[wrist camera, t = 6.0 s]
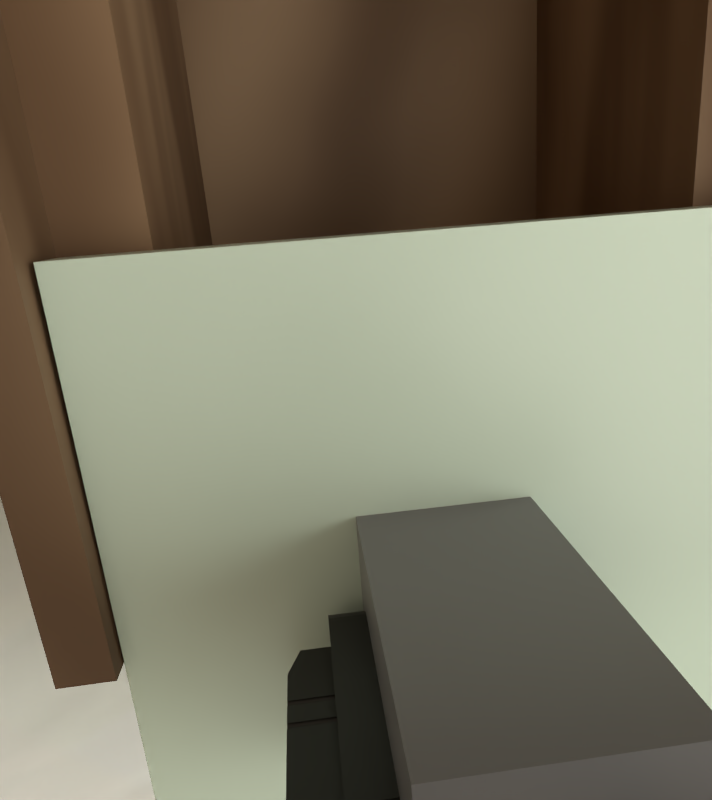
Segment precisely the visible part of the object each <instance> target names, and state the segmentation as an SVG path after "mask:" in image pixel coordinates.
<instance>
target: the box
mask: <svg viewBox="0 0 712 800" xmlns="http://www.w3.org/2000/svg"><path fill="white" fill-rule="evenodd" d="M708 205H712V0H0V496H1V500H2V503H3V507H4V510H5V514H6V517H7V521H8V524H9V528H10V531H11V535H12V538H13V542H14V545H15V549H16V552H17V556H18V559H19V563H20V566H21V570H22V573H23V577H24V580H25V584H26V587H27V591H28V594H29V598H30V601H31V605H32V608H33V612H34V615H35V619H36V622H37V626H38V629H39V633H40V636H41V640H42V643H43V647H44V650H45V654H46V657H47V661H48V664H49V668H50V671H51V675H52V678H53V682H54V685H55V689H59V688H66V687H74V686H81V685H88V684H96V683H103V682H110V681H117V679H118V676H119V674H120V671H121V668H122V666H123V663H124V659H123V655H122V650H121V646H120V641H119V637H118V633H117V628H116V624H115V619H114V615H113V611H112V606H111V602H110V598H109V593H108V589H107V584H106V580H105V576H104V571H103V567H102V562H101V558H100V554H99V549H98V545H97V540H96V536H95V532H94V527H93V523H92V518H91V514H90V510H89V505H88V501H87V496H86V492H85V488H84V483H83V479H82V474H81V470H80V466H79V461H78V457H77V453H76V448H75V444H74V439H73V435H72V431H71V426H70V422H69V417H68V413H67V409H66V404H65V400H64V395H63V391H62V387H61V382H60V378H59V373H58V369H57V365H56V360H55V356H54V351H53V347H52V343H51V338H50V334H49V330H48V325H47V321H46V316H45V312H44V308H43V303H42V299H41V294H40V290H39V286H38V281H37V277H36V272H35V268H34V264H33V262H38V261H44V260H49V259H55V258H62V257H75V256H87V255H100V254H112V253H124V252H137V251H149V250H162V249H174V248H186V247H199V246H211V245H224V244H236V243H249V242H261V241H273V240H286V239H298V238H311V237H323V236H335V235H348V234H360V233H373V232H385V231H397V230H410V229H422V228H435V227H447V226H460V225H472V224H484V223H497V222H509V221H522V220H534V219H546V218H559V217H571V216H584V215H596V214H608V213H621V212H633V211H646V210H658V209H671V208H683V207H695V206H708Z"/></svg>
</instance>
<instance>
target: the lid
mask: <svg viewBox="0 0 712 800" xmlns="http://www.w3.org/2000/svg"><path fill="white" fill-rule="evenodd" d="M33 264H34V268H35V272H36V277H37V281H38V286H39V290H40V294H41V299H42V303H43V308H44V312H45V316H46V321H47V325H48V330H49V334H50V338H51V343H52V347H53V351H54V356H55V360H56V365H57V369H58V373H59V378H60V382H61V387H62V391H63V395H64V400H65V404H66V409H67V413H68V417H69V422H70V426H71V431H72V435H73V439H74V444H75V448H76V453H77V457H78V461H79V466H80V470H81V474H82V479H83V483H84V488H85V492H86V496H87V501H88V505H89V510H90V514H91V518H92V523H93V527H94V532H95V536H96V540H97V545H98V549H99V554H100V558H101V562H102V567H103V571H104V576H105V580H106V584H107V589H108V593H109V598H110V602H111V606H112V611H113V615H114V619H115V624H116V628H117V633H118V637H119V641H120V646H121V650H122V655H123V659H124V663H125V668H126V672H127V677H128V681H129V685H130V690H131V694H132V699H133V703H134V707H135V712H136V716H137V721H138V725H139V729H140V734H141V738H142V742H143V747H144V751H145V756H146V760H147V764H148V769H149V773H150V778H151V782H152V786H153V791H154V795H155V800H286V755H287V706H288V705H287V676H288V673H289V671H290V669H291V667H292V665H293V663H294V661H295V659H296V658H297V656H298V654H299V652H300V650H308V649H315V648H323V647H331V643H330V632H329V620H328V615H334V614H342V613H350V612H358V611H365V612H366V616H367V621H368V627H369V632H370V638H371V643H372V649H373V654H374V660H375V665H376V671H377V676H378V681H379V687H380V692H381V698H382V703H383V709H384V714H385V720H386V725H387V731H388V736H389V742H390V747H391V752H392V758H393V763H394V769H395V774H396V780H397V785H398V791H399V796H400V800H712V205H708V206H695V207H683V208H671V209H658V210H646V211H633V212H621V213H608V214H596V215H584V216H571V217H559V218H546V219H534V220H522V221H509V222H497V223H484V224H472V225H460V226H447V227H435V228H422V229H410V230H397V231H385V232H373V233H360V234H348V235H335V236H323V237H311V238H298V239H286V240H273V241H261V242H249V243H236V244H224V245H211V246H199V247H186V248H174V249H162V250H149V251H137V252H124V253H112V254H100V255H87V256H75V257H62V258H55V259H49V260H44V261H38V262H33Z"/></svg>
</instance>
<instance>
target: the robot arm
mask: <svg viewBox="0 0 712 800" xmlns="http://www.w3.org/2000/svg"><path fill="white" fill-rule="evenodd" d="M328 620H329V632H330V643H331V647H323V648H315V649H308V650H300V652H299V654H298V656H297V658H296V659H295V661H294V663H293V665H292V667H291V669H290V671H289V673H288V676H287V705H288V706H287V755H286V800H400V796H399V791H398V785H397V780H396V774H395V769H394V763H393V758H392V752H391V747H390V742H389V736H388V731H387V725H386V720H385V714H384V709H383V703H382V698H381V692H380V687H379V681H378V676H377V671H376V665H375V660H374V654H373V649H372V643H371V638H370V632H369V627H368V621H367V616H366V612H365V611H358V612H350V613H342V614H334V615H328Z"/></svg>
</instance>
